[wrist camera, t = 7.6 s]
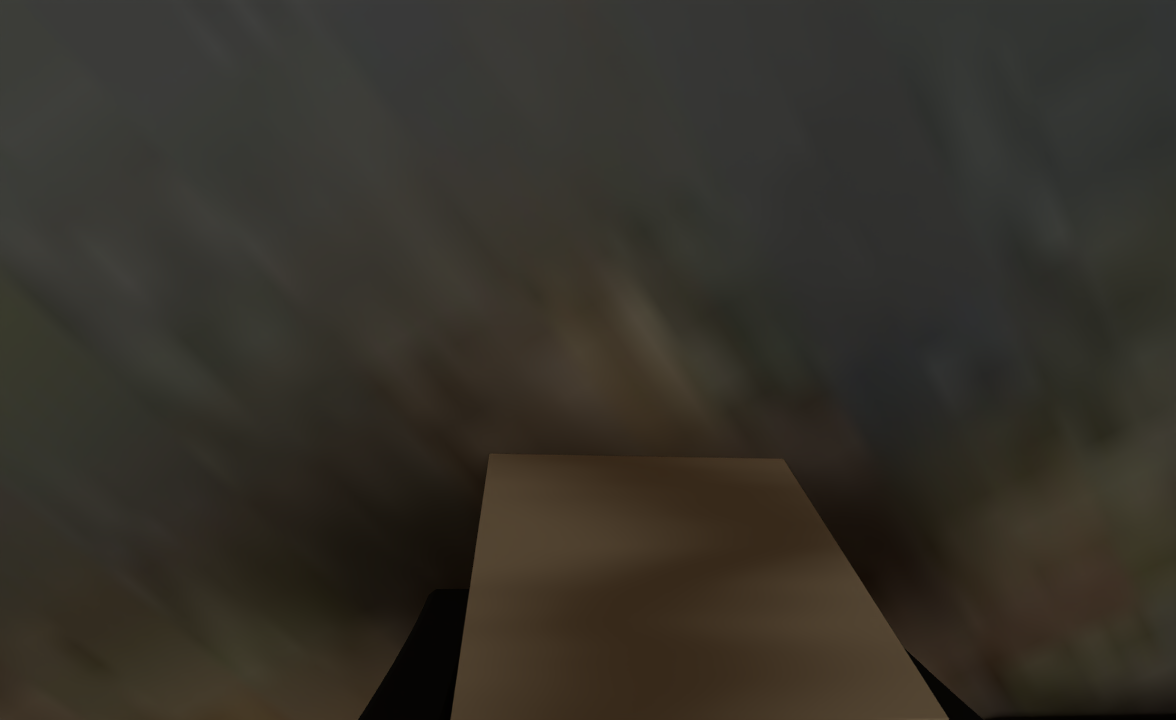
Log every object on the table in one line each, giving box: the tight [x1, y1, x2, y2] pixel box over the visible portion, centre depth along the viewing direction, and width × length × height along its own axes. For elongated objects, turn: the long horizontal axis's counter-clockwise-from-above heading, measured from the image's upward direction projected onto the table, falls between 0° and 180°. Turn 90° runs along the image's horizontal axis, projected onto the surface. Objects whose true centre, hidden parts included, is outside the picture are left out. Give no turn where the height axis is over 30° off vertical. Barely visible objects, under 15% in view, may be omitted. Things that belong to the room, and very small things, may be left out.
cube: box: [451, 454, 949, 720], centre depth 10 cm, size 5×5×5 cm
